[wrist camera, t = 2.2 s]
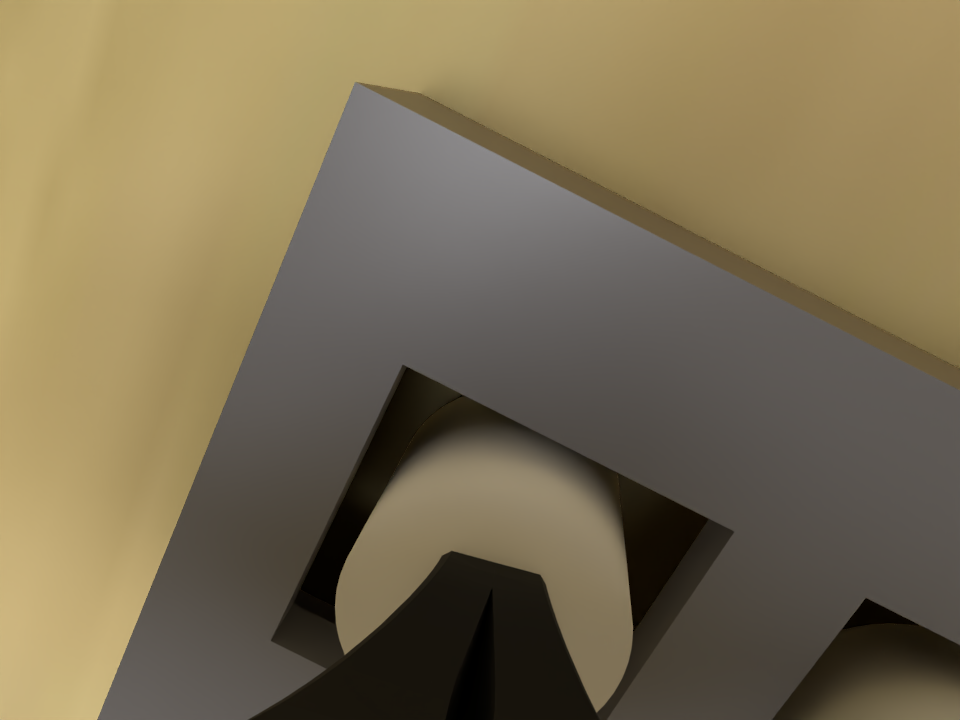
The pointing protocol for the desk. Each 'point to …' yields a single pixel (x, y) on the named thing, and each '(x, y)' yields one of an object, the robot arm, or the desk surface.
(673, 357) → the grey slotted tray
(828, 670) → the button
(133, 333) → the desk surface
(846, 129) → the desk surface
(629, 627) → the button
